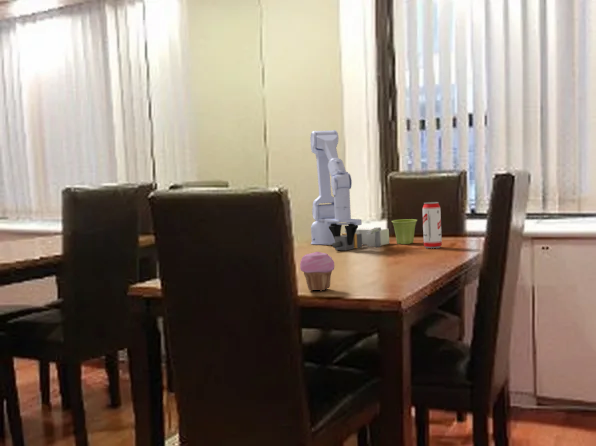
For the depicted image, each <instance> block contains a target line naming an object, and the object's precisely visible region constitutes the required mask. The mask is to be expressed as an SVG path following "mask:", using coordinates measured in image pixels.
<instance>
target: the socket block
mask: <svg viewBox="0 0 596 446" xmlns="http://www.w3.org/2000/svg"><path fill="white" fill-rule="evenodd" d="M374 228H375V227H374ZM374 228H369V227H368V228H367V227H366V228H363V227H362V228H361V227H358V228H357V230H356V232H355V233H360V234H362V245H367V246H368V247H375V248H381V247H382V246H384V245H389V244H390V231H389V229H390V228H381V231H377V232H375V233H373V234H367V231H369V230H371V229H374ZM344 233H346V230H344Z"/></svg>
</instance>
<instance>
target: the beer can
mask: <svg viewBox="0 0 596 446" xmlns="http://www.w3.org/2000/svg"><path fill="white" fill-rule="evenodd" d="M441 214H442V213H441V205H440V204H439V201H431V202H430V201H428V202H423V206H422V230H423V232H422V233H423V247H424V248H425V249H428V248H431V250H433V249H434V248H436V249H440V248H441V246H442V244H443V243H442V240H443V239H442V238H443V237H442V218H441V216H442V215H441ZM432 248H433V249H432Z"/></svg>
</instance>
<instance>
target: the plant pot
mask: <svg viewBox="0 0 596 446" xmlns="http://www.w3.org/2000/svg"><path fill="white" fill-rule="evenodd" d="M417 222H418V219H413V218H411V219H410V218H409V219H406V218H405V219H403V218H402V219H393V220H391V223H392V225H393V229H394V234H395V240H396V243H397V245H400V244H401V245H410V244H413V243H414V238H415V230H416V229H415V228H416V225H417Z"/></svg>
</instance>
